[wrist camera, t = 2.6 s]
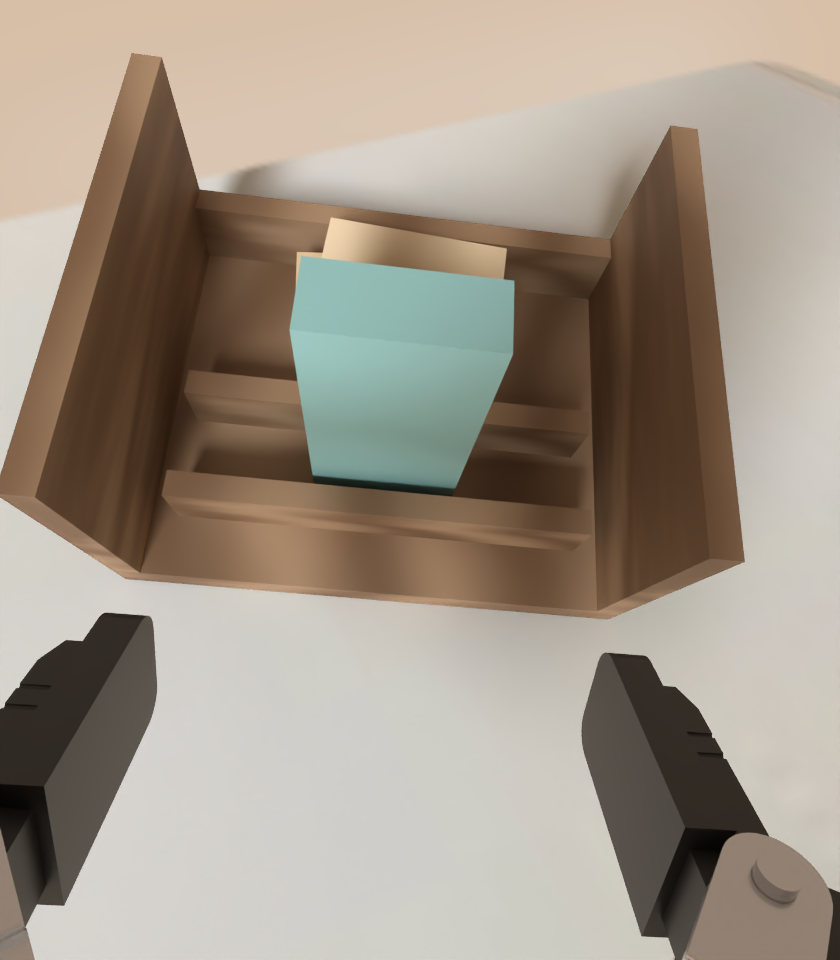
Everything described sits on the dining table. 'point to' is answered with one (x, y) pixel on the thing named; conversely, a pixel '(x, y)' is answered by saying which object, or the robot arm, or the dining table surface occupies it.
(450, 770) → the dining table surface
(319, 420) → the teal board
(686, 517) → the walnut rack
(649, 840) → the robot arm
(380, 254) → the offcut stack
